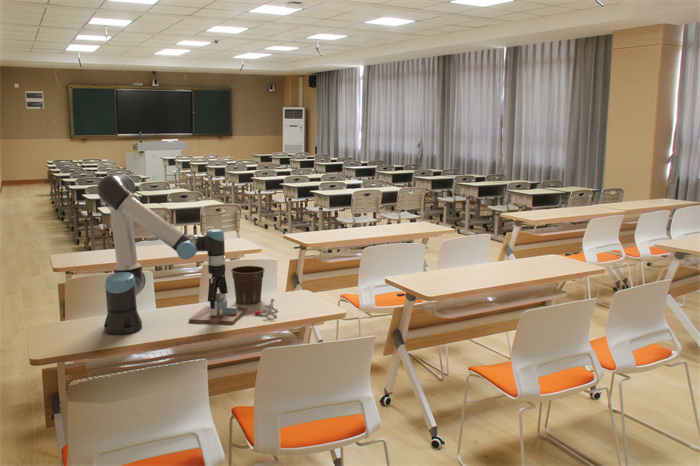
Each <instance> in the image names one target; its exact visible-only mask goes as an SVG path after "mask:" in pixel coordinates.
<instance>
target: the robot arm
mask: <svg viewBox="0 0 700 466" xmlns="http://www.w3.org/2000/svg"><path fill="white" fill-rule="evenodd" d="M96 189H97V190H96V191H97V195H98V196H99V198H100V199H101V201H103V202H104V203H105V207H106V208H107V209H109V211H110V219H111V227H112V228H111V229H112V238H113V244H114V252H115V253H114V254H115V261H116V265H115V266H114V267H113V273H111V274H109V275H108V276H107V277H106V278H105V280H104V281H105V282H104V283H105V284H104V288H105V297H106V298H105V300H106V309H107V310H106V311H107V314H106V317H105V321H104V325H103V331H104V333H105V334H107V335H114V336H115V335H116V336H117V335H118V336H120V335H128V334H133V333H136V332H138V331H141V329H143V321H142V319H141V317H140V315H139V312H138V308H137V306H138V305H137V296H138V295H139V294H140V293H141V292H142V291H143V290H144V289H145V287H146V286H145V285H146V283H147V282H146V280H147V278H146V274H145V273H144V272H143V267H142V264H141V263H140V262H138V257H137V255H138V254H137V247H136V238H135V229H134V222H135V223H137V224H138V225H140V226H141V227H142V228H144V229H145V230H146V231H148V232H149V233H150V234H151V235H153V236H155V237H156V238H157V239H158V240H160V241H161V242H163V243H164V244H165V245H166V246H169V248H171V249H172V250H173V251H175V252H176V254H177V256H178V257H179V259H180V258H181V259H182V260H190V259H192V258H193V257H195V256H196V255H197V253H198V252H207V273H208V274H210V275H211V278H209V279H208V293H207V302H209V306H210V314H211V315H212V316H217V302H216V295H217V293H218V290H219V293H221V298H224V299H226V300H227V298H226V296H227V294H228V285H227V284H228V283H227V280H226V264H225V263H226V259H227V258H226V255H225V254H226V253H225V252H226V251H225V250H226V249H225V245H226V244H225V235H224V230H223V229H220V228H219V229H218V228H214V229H213V228H212V229H208V230H206V233H205V234H184V233H183V232H181V231H180V230H179V229H177V228H176V227H175V226H173V225H172V224H170V223H169V222H168V221H166V219H164V218H162V217H161V216H160V215H158V214H157V213H156V212H154V211H153V210H152V209H151V208H149V207H147V206H146V205H145V203H142V202H141V201H139V200H138V199H137V198H136V197H134V195H135V192H136V184H135V181H134V180H133V179H132V178H131V177H130V176H129V175H127V174H124V173H114V174H111V175H106V176H104V177H103V178H101V179H100V180H99V182H98V184H97V188H96Z"/></svg>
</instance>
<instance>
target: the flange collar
mask: <svg viewBox="0 0 700 466" xmlns="http://www.w3.org/2000/svg"><path fill="white" fill-rule="evenodd" d="M221 300H222V301H221V302H217V316H220V309H222V315H225V314H233V315H236V314H237V306H228V300H227V298H226V299H224V298H221Z"/></svg>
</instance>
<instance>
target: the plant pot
mask: <svg viewBox="0 0 700 466" xmlns="http://www.w3.org/2000/svg"><path fill="white" fill-rule="evenodd" d="M265 270H266V269H265V268H264V267H263V266H258V265H240V266H236V267H233V268H231V269H230V272H231V273H232V279H233V283H234V284H233V285H234V294H235V295H234V296H235V301H236V303H238V304H241V305H253V304H254V303H255V304H257V303H260V302H261V301H262V291H263V290H262V288H263V279H264V273H265Z"/></svg>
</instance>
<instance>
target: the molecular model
mask: <svg viewBox="0 0 700 466" xmlns="http://www.w3.org/2000/svg"><path fill="white" fill-rule="evenodd" d="M274 302H275V298H271V299H270V303H269V304H266V305H265V306H264V308H263V309H262V310H256V311H255V312H254V316H259V315H261V314H262V317H264V318H266V316H267V315H271V316H272V317H273V318H278V315H277V314H274V313H278V312H279V309H277V308H274ZM272 310H273V311H274V313H273V311H272Z"/></svg>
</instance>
